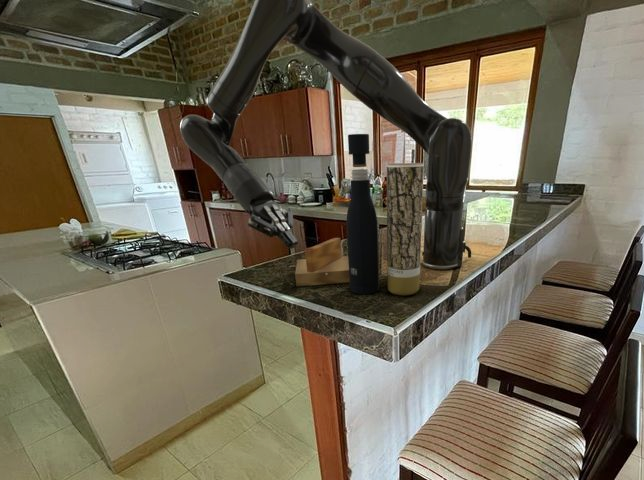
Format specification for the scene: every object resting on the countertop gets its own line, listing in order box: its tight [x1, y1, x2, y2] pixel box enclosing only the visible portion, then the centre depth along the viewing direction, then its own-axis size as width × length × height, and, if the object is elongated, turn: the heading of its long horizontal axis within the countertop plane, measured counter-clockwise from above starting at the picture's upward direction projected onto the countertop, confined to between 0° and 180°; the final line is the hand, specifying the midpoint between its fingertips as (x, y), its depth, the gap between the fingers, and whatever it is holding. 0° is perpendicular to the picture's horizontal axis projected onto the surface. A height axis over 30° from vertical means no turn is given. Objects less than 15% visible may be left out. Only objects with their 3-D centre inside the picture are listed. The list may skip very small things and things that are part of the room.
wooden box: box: [288, 255, 350, 287], centre depth 82 cm, size 17×17×3 cm
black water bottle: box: [345, 133, 380, 295], centre depth 67 cm, size 6×6×30 cm
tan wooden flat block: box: [304, 237, 343, 272], centre depth 80 cm, size 13×2×5 cm, turn 155°
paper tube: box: [386, 162, 425, 297], centre depth 66 cm, size 7×7×25 cm
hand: (294, 246), depth 77 cm, fingers closed
